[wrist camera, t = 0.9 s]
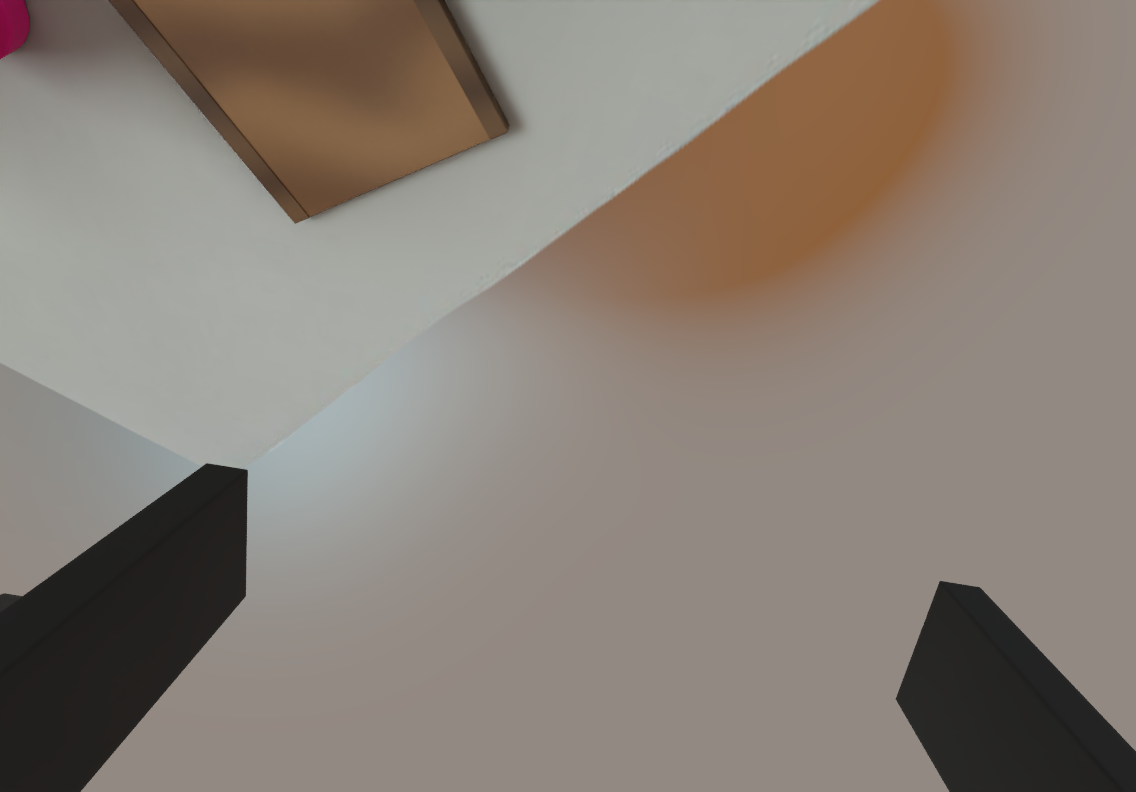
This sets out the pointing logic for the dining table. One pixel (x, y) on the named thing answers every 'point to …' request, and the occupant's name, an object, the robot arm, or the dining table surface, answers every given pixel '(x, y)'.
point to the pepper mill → (12, 25)
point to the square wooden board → (324, 88)
